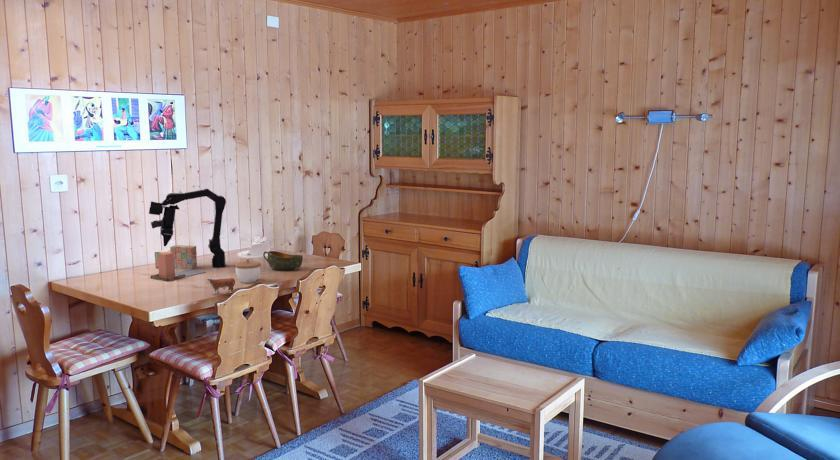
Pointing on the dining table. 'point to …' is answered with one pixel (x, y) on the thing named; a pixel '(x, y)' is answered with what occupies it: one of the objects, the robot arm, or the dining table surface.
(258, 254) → the dish
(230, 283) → the bull figurine
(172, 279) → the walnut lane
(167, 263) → the salmon-pink block
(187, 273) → the slate-grey mat
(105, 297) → the dining table surface
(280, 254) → the cup
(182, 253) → the stack of blocks
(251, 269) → the lidded bowl
